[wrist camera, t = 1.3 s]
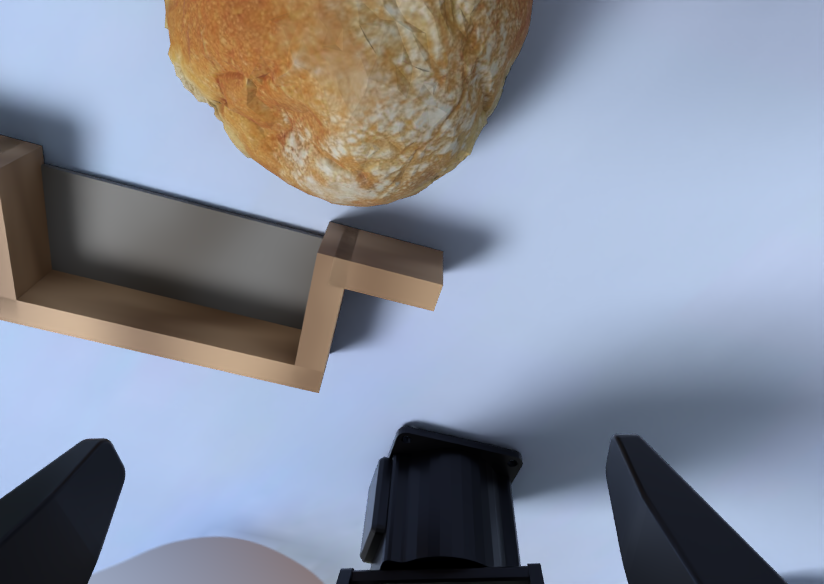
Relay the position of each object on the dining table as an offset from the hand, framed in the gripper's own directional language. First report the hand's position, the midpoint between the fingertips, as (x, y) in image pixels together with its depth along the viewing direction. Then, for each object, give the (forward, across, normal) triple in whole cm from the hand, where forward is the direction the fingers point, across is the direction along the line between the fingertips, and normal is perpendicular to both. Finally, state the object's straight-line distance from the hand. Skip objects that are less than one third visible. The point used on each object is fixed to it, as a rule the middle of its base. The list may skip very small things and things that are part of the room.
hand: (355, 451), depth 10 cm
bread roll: (+13, +1, -5) cm, 14 cm away
